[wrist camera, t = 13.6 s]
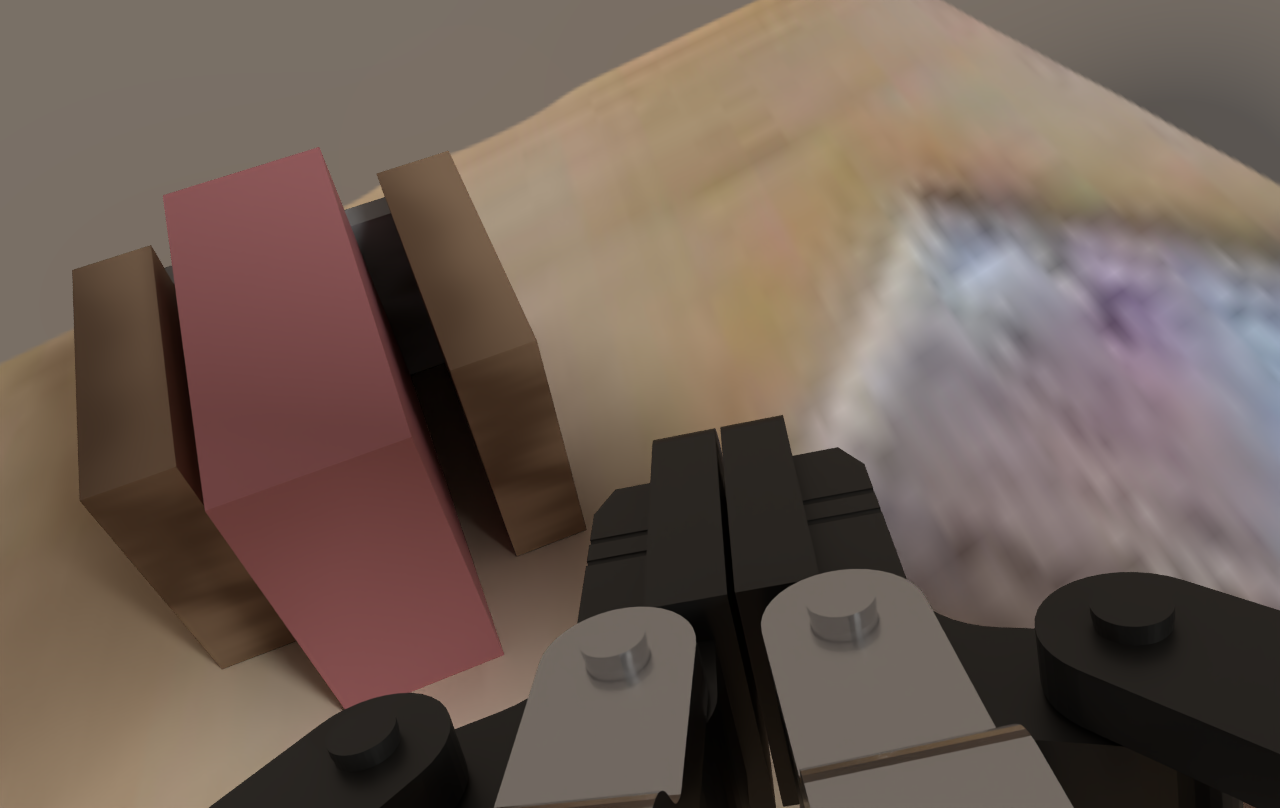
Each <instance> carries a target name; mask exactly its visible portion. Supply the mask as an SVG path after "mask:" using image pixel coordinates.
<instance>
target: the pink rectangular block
mask: <svg viewBox="0 0 1280 808" xmlns="http://www.w3.org/2000/svg"><path fill="white" fill-rule="evenodd" d="M163 199H164V208H165V215H166V222H167V230H168V238H169V244H170V253H171V260H172V268H173V275H174V283H175V290H176V298H177V305H178V313H179V320H180V328H181V335H182V343H183V350H184V358H185V365H186V373H187V380H188V388H189V395H190V403H191V410H192V418H193V425H194V433H195V441H196V448H197V456H198V463H199V471H200V478H201V486H202V493H203V501H204V508H205V512H206V513H207V515H208V516H209V518H210V519H211V520H212V522H213V523H214V525H215V526H216V527H217V529H218V530H219V532H220V533H221V535H222V536H223V537H224V539H225V540H226V542H227V543H228V544H229V546H230V547H231V549H232V550H233V552H234V553H235V554H236V556H237V557H238V559H239V560H240V561H241V563H242V564H243V566H244V567H245V569H246V570H247V571H248V573H249V574H250V576H251V577H252V578H253V580H254V581H255V583H256V584H257V586H258V587H259V588H260V590H261V591H262V593H263V594H264V595H265V597H266V598H267V600H268V601H269V603H270V604H271V605H272V607H273V608H274V610H275V611H276V612H277V614H278V615H279V617H280V618H281V620H282V621H283V622H284V624H285V625H286V627H287V628H288V629H289V631H290V632H291V634H292V635H293V637H294V638H295V639H296V641H297V642H298V644H299V645H300V646H301V648H302V649H303V651H304V652H305V654H306V655H307V656H308V658H309V659H310V661H311V662H312V663H313V665H314V666H315V668H316V669H317V671H318V672H319V673H320V675H321V676H322V678H323V679H324V680H325V682H326V683H327V685H328V686H329V688H330V689H331V690H332V692H333V693H334V695H335V696H336V697H337V699H338V700H339V702H340V703H341V704H342V706H343V707H344V709H347V708H349V707H351V706H353V705H356V704H358V703H360V702H363V701H366V700H369V699H372V698H376V697H380V696H384V695H390V694H397V693H409V692H412V691H414V690H417V689H419V688H422V687H424V686H427V685H429V684H432V683H434V682H437V681H439V680H442V679H444V678H447V677H450V676H452V675H455V674H457V673H460V672H462V671H465V670H467V669H470V668H472V667H475V666H477V665H480V664H482V663H485V662H487V661H490V660H492V659H495V658H497V657H500V656H502V655H504V652H503V650H502V647H501V644H500V641H499V638H498V635H497V632H496V629H495V626H494V623H493V620H492V617H491V614H490V611H489V608H488V605H487V602H486V599H485V596H484V593H483V590H482V587H481V584H480V581H479V578H478V575H477V572H476V569H475V566H474V563H473V560H472V557H471V554H470V551H469V548H468V545H467V542H466V539H465V536H464V533H463V530H462V527H461V524H460V522H459V519H458V516H457V513H456V510H455V507H454V504H453V501H452V498H451V495H450V492H449V489H448V486H447V483H446V480H445V477H444V474H443V471H442V468H441V465H440V462H439V459H438V456H437V453H436V450H435V447H434V444H433V441H432V438H431V435H430V432H429V429H428V426H427V423H426V420H425V417H424V414H423V411H422V408H421V405H420V402H419V399H418V396H417V393H416V391H415V388H414V385H413V382H412V379H411V376H410V373H409V371H408V368H407V366H406V363H405V361H404V358H403V356H402V353H401V351H400V348H399V346H398V343H397V341H396V338H395V336H394V333H393V331H392V328H391V326H390V323H389V321H388V318H387V316H386V313H385V311H384V308H383V306H382V303H381V301H380V298H379V296H378V293H377V291H376V288H375V286H374V283H373V281H372V278H371V275H370V273H369V270H368V268H367V265H366V263H365V260H364V258H363V255H362V253H361V250H360V248H359V245H358V243H357V240H356V238H355V235H354V233H353V230H352V228H351V225H350V223H349V220H348V218H347V215H346V213H345V210H344V208H343V205H342V203H341V200H340V198H339V196H338V193H337V190H336V188H335V185H334V183H333V180H332V178H331V176H330V173H329V170H328V168H327V165H326V163H325V160H324V158H323V155H322V153H321V150H320V148H319V147H318V148H315V149H311V150H308V151H305V152H302V153H299V154H295V155H292V156H289V157H285V158H282V159H279V160H276V161H272V162H269V163H266V164H263V165H260V166H256V167H253V168H250V169H247V170H243V171H240V172H237V173H234V174H230V175H227V176H224V177H221V178H218V179H214V180H211V181H208V182H205V183H202V184H198V185H195V186H192V187H189V188H185V189H182V190H179V191H176V192H173V193H169V194H166V195H163Z"/></svg>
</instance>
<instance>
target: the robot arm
mask: <svg viewBox="0 0 1280 808" xmlns="http://www.w3.org/2000/svg"><path fill="white" fill-rule="evenodd" d="M720 429H721V441H722V451H721V447H720V442H719V439H718V435H717V432H716V429H715V428H714V429H709V430H704V431H699V432H694V433H689V434H684V435H678V436H673V437H668V438H663V439H658V440H653V445H652V463H651V481H650V483H649V484H643V485H638V486H633V487H627V488H622V489H617V490H615V491H614V492H613V493H612V494H611V496H610V497H609V498H608V499H607V500H606V501H605V503H604V504H603V505H602V506H601V507H600V509H599V510H598V511H597V512H596V513H595V514H594V519H593V525H592V532H591V538H590V541H591V545H589V551H588V558H587V563H588V566H586V571H585V577H584V584H583V590H582V597H581V603H580V610H579V616H578V623H577V624H576V625H574V626H573V627H571V628H570V629H568V630H566V631H565V632H564V633H563V634H561V635H560V636H559V637H558V638H556V639H555V640H554V641H553V643H552V644H551V645H550V646H549V647H548V648H547V650H546V651H545V653H544V654H543V656H542V658H541V660H540V663H539V666H538V669H537V672H536V675H535V678H534V681H533V685H532V688H531V691H530V694H529V697H528V699H526V700H524V701H522V702H520V703H518V704H517V705H515V706H512V707H510V708H508V709H506V710H503V711H501V712H498V713H496V714H493V715H491V716H488V717H486V718H483V719H480V720H478V721H475V722H473V723H470V724H467V725H465V726H462V727H460V728H457V729H454V726H453V724H452V721H451V718H450V715H449V713H448V711H447V709H446V707H445V706H444V705H443V704H442V703H441V702H440V701H438V700H436V699H434V698H432V697H430V696H426V695H423V694H416V693H397V694H390V695H384V696H380V697H376V698H372V699H369V700H366V701H363V702H360V703H358V704H356V705H353V706H351V707H349V708H347V709H345V710H343V711H341V712H339V713H338V714H336V715H334V716H332V717H331V718H329V719H328V720H326V721H325V722H323V723H322V724H320V725H319V726H318V727H316V728H315V729H314V730H312V731H311V732H310V733H308V734H307V735H306V736H304V737H303V738H302V739H300V740H299V741H298V742H296V743H295V744H294V745H292V746H291V747H289V748H288V749H287V750H285V751H284V752H283V753H281V754H280V755H279V756H277V757H276V758H275V759H273V760H272V761H271V762H269V763H268V764H267V765H265V766H264V767H263V768H261V769H260V770H259V771H257V772H256V773H255V774H253V775H252V776H251V777H249V778H248V779H247V780H245V781H244V782H242V783H241V784H240V785H238V786H237V787H236V788H234V789H233V790H232V791H230V792H229V793H228V794H226V795H225V796H224V797H222V798H221V799H220V800H218V801H217V802H216V803H214V804H213V805H212V806H210V807H209V808H776V803H775V795H774V786H773V777H772V768H771V760H770V751H769V746H770V750H771V755H772V759H773V764H774V768H775V772H776V777H777V781H778V786H779V790H780V795H781V799H782V803H783V807H784V806H791V805H797V804H800V808H1243V802H1245V803H1247V804H1249V805H1252V806H1254V807H1256V808H1280V611H1279V610H1276V609H1273V608H1270V607H1267V606H1264V605H1260V604H1257V603H1254V602H1251V601H1248V600H1245V599H1241V598H1238V597H1235V596H1232V595H1229V594H1226V593H1222V592H1219V591H1216V590H1213V589H1210V588H1207V587H1203V586H1200V585H1197V584H1194V583H1191V582H1188V581H1185V580H1181V579H1177V578H1173V577H1169V576H1164V575H1158V574H1152V573H1139V572H1118V573H1108V574H1101V575H1096V576H1091V577H1086V578H1083V579H1080V580H1077V581H1074V582H1072V583H1069V584H1067V585H1065V586H1063V587H1061V588H1059V589H1058V590H1056V591H1055V592H1053V593H1052V594H1050V595H1049V596H1048V597H1047V598H1046V599H1045V600H1044V601H1043V602H1042V604H1041V605H1040V607H1039V608H1038V610H1037V613H1036V616H1035V629H1031V628H1001V627H987V626H979V625H973V624H967V623H963V622H960V621H956V620H952V619H950V618H947V617H945V616H942V615H940V614H938V613H936V612H934V611H933V610H932V608H931V606H930V605H929V603H928V601H927V599H926V597H925V596H924V594H923V593H922V592H921V590H920V589H919V588H918V587H917V586H915V585H914V584H913V583H912V582H910V581H908V580H907V579H906V576H905V573H904V571H903V568H902V565H901V563H900V560H899V557H898V554H897V552H896V549H895V546H894V544H893V541H892V538H891V535H890V533H889V530H888V527H887V525H886V522H885V519H884V516H883V514H882V512H881V509H880V506H879V503H878V500H877V497H876V495H875V492H874V491H873V487H872V484H871V481H870V478H869V476H868V473H867V470H866V468H865V465H864V464H863V463H862V462H860V461H859V460H857V459H855V458H854V457H852V456H851V455H849V454H848V453H846V452H844V451H843V450H841V449H840V448H838V447H837V448H832V449H827V450H821V451H816V452H811V453H806V454H800V455H795V456H792V453H791V448H790V444H789V440H788V435H787V431H786V426H785V422H784V418H783V415H780V416H775V417H770V418H765V419H760V420H755V421H749V422H744V423H739V424H734V425H729V426H724V427H721V428H720ZM722 453H723V456H722ZM768 741H769V742H768Z"/></svg>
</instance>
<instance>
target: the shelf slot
mask: <svg viewBox="0 0 1280 808" xmlns="http://www.w3.org/2000/svg"><path fill="white" fill-rule="evenodd" d="M377 176H378V179H379V182H380V185H381V187H382V190H383V193H384V196H385V197H384V198H381V199H378V200H374V201H371V202H368V203H365V204H362V205H359V206H356V207H353V208H350V209H346V210H345V213H346V215H347V218H348V220H349V223H350V225H351V228H352V230H353V233H354V235H355V238H356V240H357V243H358V245H359V248H360V250H361V253H362V255H363V258H364V260H365V263H366V265H367V268H368V270H369V273H370V275H371V278H372V281H373V283H374V286H375V288H376V291H377V293H378V296H379V298H380V301H381V303H382V306H383V308H384V311H385V313H386V316H387V318H388V321H389V323H390V326H391V328H392V331H393V333H394V336H395V338H396V341H397V343H398V346H399V348H400V351H401V353H402V356H403V358H404V361H405V363H406V366H407V368H408V371H409V373H410V375H411V374H414V373H417V372H420V371H422V370H425V369H428V368H431V367H434V366H437V365H440V364H443V363H445V365H446V367H447V370H448V373H449V375H450V378H451V381H452V383H453V386H454V389H455V391H456V394H457V397H458V399H459V402H460V405H461V408H462V410H463V413H464V416H465V418H466V421H467V424H468V426H469V429H470V432H471V434H472V437H473V440H474V443H475V445H476V448H477V451H478V453H479V456H480V459H481V461H482V464H483V467H484V469H485V472H486V475H487V478H488V480H489V483H490V486H491V488H492V491H493V494H494V496H495V499H496V502H497V504H498V507H499V510H500V513H501V515H502V518H503V521H504V523H505V526H506V529H507V531H508V534H509V537H510V539H511V542H512V545H513V548H514V550H515V553H516V556H519V555H521V554H524V553H527V552H529V551H532V550H534V549H537V548H540V547H542V546H545V545H547V544H550V543H553V542H555V541H558V540H561V539H563V538H566V537H568V536H571V535H574V534H576V533H579V532H581V531H584V530H586V526H585V522H584V518H583V515H582V511H581V507H580V503H579V499H578V496H577V492H576V488H575V484H574V480H573V477H572V473H571V469H570V465H569V461H568V458H567V454H566V450H565V446H564V442H563V439H562V435H561V431H560V427H559V423H558V420H557V416H556V412H555V408H554V404H553V401H552V397H551V393H550V389H549V385H548V382H547V378H546V374H545V370H544V366H543V363H542V359H541V355H540V351H539V347H538V343H537V340H536V338H535V336H534V334H533V331H532V329H531V327H530V325H529V323H528V321H527V318H526V316H525V314H524V312H523V310H522V308H521V306H520V303H519V301H518V299H517V297H516V295H515V293H514V291H513V288H512V286H511V284H510V282H509V280H508V278H507V276H506V273H505V271H504V269H503V267H502V265H501V263H500V260H499V258H498V256H497V254H496V252H495V250H494V248H493V245H492V243H491V241H490V239H489V237H488V235H487V233H486V230H485V228H484V226H483V224H482V222H481V220H480V218H479V215H478V213H477V211H476V209H475V207H474V205H473V202H472V200H471V198H470V196H469V194H468V192H467V190H466V187H465V185H464V183H463V181H462V179H461V177H460V175H459V172H458V170H457V168H456V166H455V164H454V162H453V159H452V157H451V155H450V153H449V151H446V152H443V153H440V154H437V155H434V156H431V157H428V158H424V159H421V160H418V161H415V162H412V163H409V164H406V165H402V166H399V167H396V168H393V169H390V170H387V171H384V172H381V173H377ZM72 276H73V307H74V338H75V369H76V400H77V431H78V462H79V493H80V502H81V503H82V504H83V505H84V506H85V507H86V509H87V510H88V511H89V512H90V513H91V515H92V516H93V517H94V518H95V519H96V521H97V522H98V523H99V524H100V525H101V526H102V528H103V529H104V530H105V531H106V532H107V534H108V535H109V536H110V537H111V538H112V539H113V541H114V542H115V543H116V544H117V545H118V547H119V548H120V549H121V550H122V551H123V552H124V554H125V555H126V556H127V557H128V558H129V560H130V561H131V562H132V563H133V564H134V565H135V567H136V568H137V569H138V570H139V571H140V573H141V574H142V575H143V576H144V577H145V578H146V580H147V581H148V582H149V583H150V584H151V586H152V587H153V588H154V589H155V590H156V591H157V593H158V594H159V595H160V596H161V597H162V599H163V600H164V601H165V602H166V603H167V604H168V606H169V607H170V608H171V609H172V610H173V612H174V613H175V614H176V615H177V616H178V618H179V619H180V620H181V621H182V622H183V623H184V625H185V626H186V627H187V628H188V629H189V631H190V632H191V633H192V634H193V635H194V636H195V638H196V639H197V640H198V641H199V642H200V644H201V645H202V646H203V647H204V648H205V649H206V651H207V652H208V653H209V654H210V655H211V657H212V658H213V659H214V660H215V661H216V662H217V664H218V665H219V666H220V667H221V668H222V669H224V668H226V667H229V666H232V665H234V664H237V663H239V662H242V661H245V660H247V659H250V658H253V657H255V656H258V655H260V654H263V653H266V652H268V651H271V650H273V649H276V648H279V647H281V646H284V645H286V644H289V643H292V642H294V641H296V639H295V638H294V637H293V635H292V634H291V632H290V631H289V629H288V628H287V627H286V625H285V624H284V622H283V621H282V620H281V618H280V617H279V615H278V614H277V612H276V611H275V610H274V608H273V607H272V605H271V604H270V603H269V601H268V600H267V598H266V597H265V595H264V594H263V593H262V591H261V590H260V588H259V587H258V586H257V584H256V583H255V581H254V580H253V578H252V577H251V576H250V574H249V573H248V571H247V570H246V569H245V567H244V566H243V564H242V563H241V561H240V560H239V559H238V557H237V556H236V554H235V553H234V552H233V550H232V549H231V547H230V546H229V544H228V543H227V542H226V540H225V539H224V537H223V536H222V535H221V533H220V532H219V530H218V529H217V527H216V526H215V525H214V523H213V522H212V520H211V519H210V518H209V516H208V515H207V513H206V512H205V508H204V501H203V493H202V486H201V478H200V471H199V463H198V456H197V448H196V441H195V433H194V425H193V418H192V410H191V403H190V395H189V388H188V380H187V373H186V365H185V358H184V350H183V343H182V335H181V328H180V320H179V313H178V305H177V298H176V290H175V283H174V275H173V268H172V266H169V267H166V268H164V267H163V265H162V263H161V261H160V260H159V258H158V256H157V255H156V253H155V251H154V250H153V248H152V246H151V245H150V246H147V247H144V248H141V249H138V250H134V251H131V252H128V253H125V254H122V255H119V256H115V257H112V258H109V259H106V260H103V261H100V262H97V263H93V264H90V265H87V266H84V267H81V268H78V269H74V270H72Z"/></svg>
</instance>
